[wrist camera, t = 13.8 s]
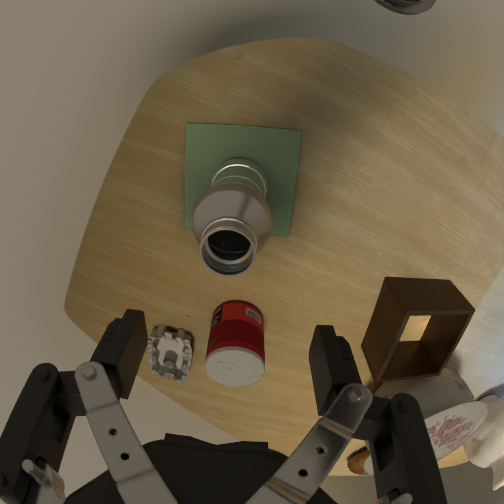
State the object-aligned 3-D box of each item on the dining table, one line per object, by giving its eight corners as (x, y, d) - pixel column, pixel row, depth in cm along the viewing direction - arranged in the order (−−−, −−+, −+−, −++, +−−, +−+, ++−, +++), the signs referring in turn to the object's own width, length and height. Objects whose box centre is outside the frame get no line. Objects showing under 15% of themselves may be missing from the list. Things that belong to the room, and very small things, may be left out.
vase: (513, 373, 61) (554, 444, 34) (490, 412, 71) (520, 476, 44) (468, 393, 63) (507, 477, 36) (448, 431, 72) (474, 503, 45)
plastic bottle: (255, 212, 40) (256, 307, 22) (205, 193, 39) (166, 274, 21) (275, 167, 37) (297, 229, 19) (224, 146, 36) (195, 189, 18)
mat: (187, 122, 35) (186, 123, 35) (301, 130, 36) (302, 131, 35) (185, 226, 42) (184, 229, 41) (288, 234, 42) (289, 236, 41)
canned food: (211, 298, 47) (201, 348, 37) (264, 299, 47) (266, 350, 37) (214, 336, 50) (207, 386, 41) (262, 337, 50) (264, 388, 41)
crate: (385, 276, 45) (407, 311, 37) (449, 279, 46) (475, 309, 38) (360, 346, 52) (374, 383, 44) (421, 343, 52) (439, 375, 44)
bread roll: (338, 457, 73) (342, 479, 66) (381, 435, 68) (387, 458, 61) (355, 462, 76) (359, 483, 69) (395, 441, 71) (402, 463, 64)
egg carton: (153, 320, 49) (146, 336, 46) (196, 330, 50) (193, 347, 46) (151, 362, 54) (145, 378, 50) (189, 371, 55) (186, 387, 51)
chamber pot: (398, 330, 50) (442, 421, 32) (477, 350, 55) (516, 415, 36) (324, 417, 62) (337, 496, 44) (407, 423, 66) (428, 485, 48)
